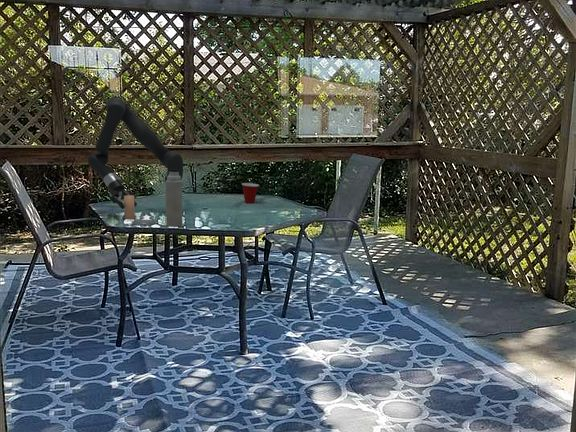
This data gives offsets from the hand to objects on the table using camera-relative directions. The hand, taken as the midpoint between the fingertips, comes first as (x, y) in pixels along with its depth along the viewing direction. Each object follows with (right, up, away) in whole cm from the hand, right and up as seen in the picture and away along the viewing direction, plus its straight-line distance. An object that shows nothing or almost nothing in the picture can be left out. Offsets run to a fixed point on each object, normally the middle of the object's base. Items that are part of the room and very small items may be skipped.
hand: (129, 207), depth 323 cm
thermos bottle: (+26, -9, -13) cm, 31 cm away
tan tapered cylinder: (-1, -6, +2) cm, 6 cm away
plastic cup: (+59, +3, +61) cm, 85 cm away
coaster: (+10, -8, -10) cm, 16 cm away
